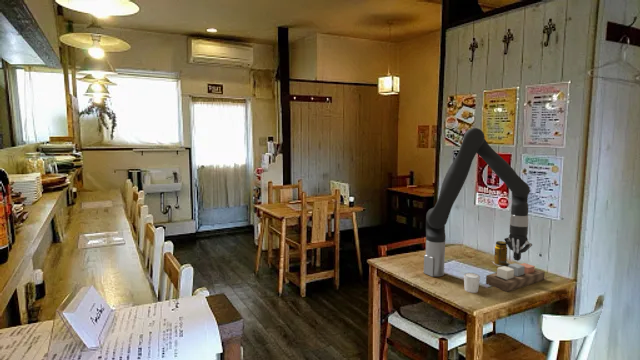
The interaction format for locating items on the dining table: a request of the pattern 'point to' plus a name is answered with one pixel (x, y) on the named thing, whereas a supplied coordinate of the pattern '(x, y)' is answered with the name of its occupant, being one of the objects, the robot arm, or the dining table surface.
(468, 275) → the white cup
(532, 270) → the terracotta key
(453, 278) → the dining table surface
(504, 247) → the condiment
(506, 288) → the brown wooden tray
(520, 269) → the slate key
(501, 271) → the cream block
